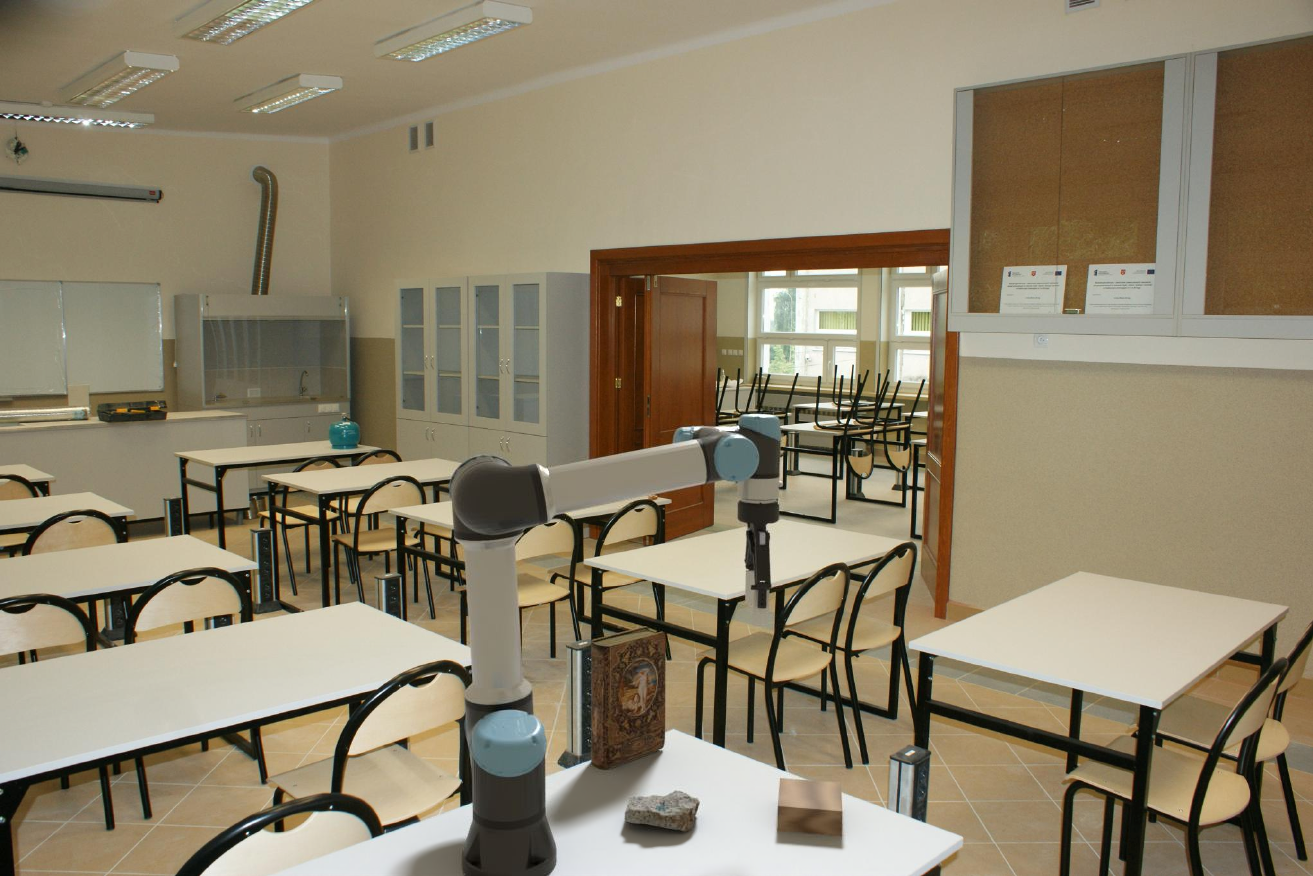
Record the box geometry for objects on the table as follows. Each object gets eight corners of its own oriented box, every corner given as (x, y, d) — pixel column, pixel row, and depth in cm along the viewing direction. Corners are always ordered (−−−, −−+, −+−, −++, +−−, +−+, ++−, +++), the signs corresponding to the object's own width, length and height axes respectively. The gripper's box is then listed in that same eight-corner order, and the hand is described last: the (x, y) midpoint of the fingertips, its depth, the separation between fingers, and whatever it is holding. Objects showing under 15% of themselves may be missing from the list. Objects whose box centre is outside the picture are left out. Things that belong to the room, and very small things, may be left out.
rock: (620, 832, 166) (620, 804, 166) (631, 808, 176) (630, 781, 175) (695, 837, 164) (694, 808, 164) (701, 812, 174) (701, 785, 173)
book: (604, 771, 191) (604, 647, 188) (586, 762, 195) (586, 641, 192) (665, 748, 202) (666, 631, 199) (647, 740, 206) (648, 625, 204)
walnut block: (777, 833, 168) (777, 805, 167) (779, 804, 179) (780, 777, 178) (841, 839, 166) (842, 811, 165) (840, 809, 177) (840, 782, 176)
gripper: (789, 511, 163) (786, 634, 165) (770, 489, 188) (768, 596, 190) (744, 511, 163) (742, 634, 165) (731, 489, 188) (730, 596, 190)
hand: (756, 614), depth 177 cm, fingers open, 13 cm apart
